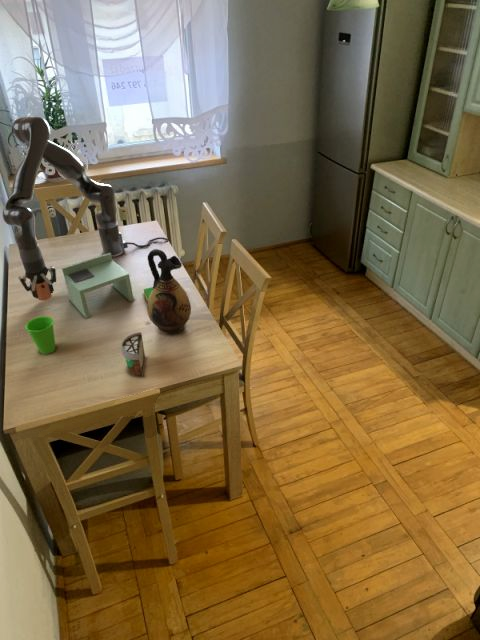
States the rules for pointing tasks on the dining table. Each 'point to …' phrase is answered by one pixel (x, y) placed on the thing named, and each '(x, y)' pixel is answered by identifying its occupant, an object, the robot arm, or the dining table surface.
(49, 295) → the copper pot
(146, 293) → the dish sponge
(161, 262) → the ceramic jug
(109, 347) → the dining table surface
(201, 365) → the dining table surface
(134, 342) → the food container
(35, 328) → the cup
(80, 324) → the dining table surface
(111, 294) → the dining table surface
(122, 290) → the shelf
